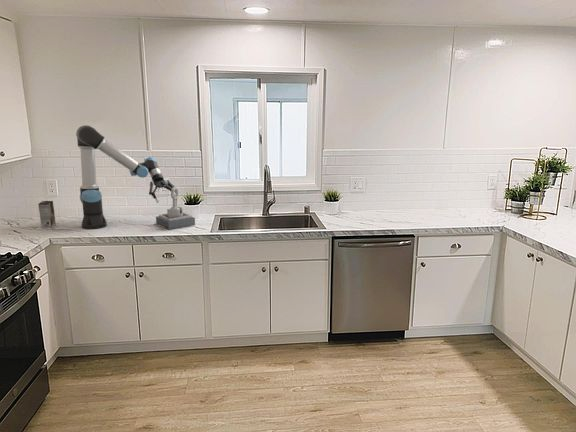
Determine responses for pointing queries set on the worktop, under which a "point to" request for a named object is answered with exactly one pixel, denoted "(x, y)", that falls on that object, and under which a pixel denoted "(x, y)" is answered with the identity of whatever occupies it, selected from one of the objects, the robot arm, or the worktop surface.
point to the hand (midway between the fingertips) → (167, 200)
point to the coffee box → (47, 214)
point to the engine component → (174, 205)
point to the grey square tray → (175, 221)
